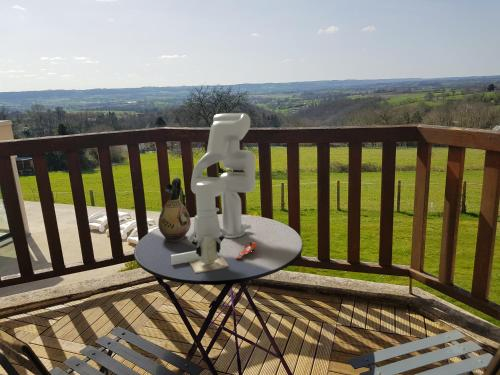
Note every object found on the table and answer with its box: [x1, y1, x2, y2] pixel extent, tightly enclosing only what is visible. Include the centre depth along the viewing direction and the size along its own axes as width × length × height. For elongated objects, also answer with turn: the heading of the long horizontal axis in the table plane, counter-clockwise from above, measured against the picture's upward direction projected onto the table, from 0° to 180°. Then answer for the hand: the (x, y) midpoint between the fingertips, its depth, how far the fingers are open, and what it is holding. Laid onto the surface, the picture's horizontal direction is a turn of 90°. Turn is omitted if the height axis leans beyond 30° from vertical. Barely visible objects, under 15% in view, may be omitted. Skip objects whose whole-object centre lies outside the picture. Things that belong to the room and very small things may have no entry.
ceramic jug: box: [157, 177, 192, 243], centre depth 177 cm, size 17×15×30 cm
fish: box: [235, 241, 259, 260], centre depth 160 cm, size 13×5×9 cm
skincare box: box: [200, 235, 218, 264], centre depth 149 cm, size 6×4×12 cm
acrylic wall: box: [170, 250, 219, 266], centre depth 155 cm, size 20×1×4 cm, turn 113°
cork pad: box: [188, 255, 230, 274], centre depth 150 cm, size 14×10×1 cm
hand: (208, 253), depth 149 cm, fingers closed on skincare box, 7 cm apart
